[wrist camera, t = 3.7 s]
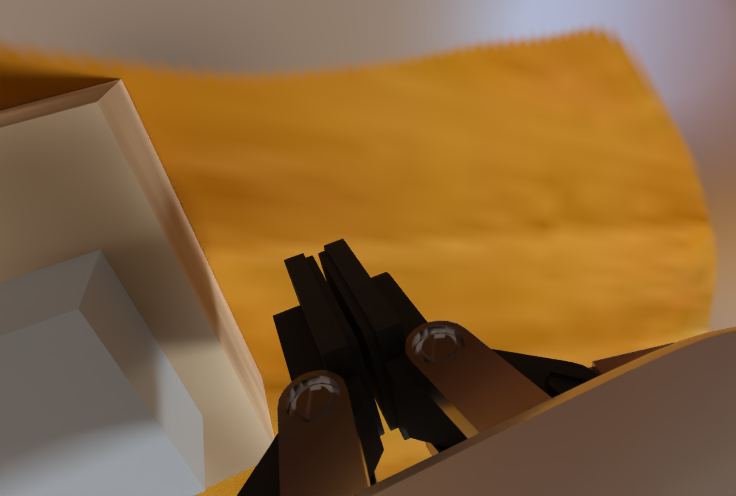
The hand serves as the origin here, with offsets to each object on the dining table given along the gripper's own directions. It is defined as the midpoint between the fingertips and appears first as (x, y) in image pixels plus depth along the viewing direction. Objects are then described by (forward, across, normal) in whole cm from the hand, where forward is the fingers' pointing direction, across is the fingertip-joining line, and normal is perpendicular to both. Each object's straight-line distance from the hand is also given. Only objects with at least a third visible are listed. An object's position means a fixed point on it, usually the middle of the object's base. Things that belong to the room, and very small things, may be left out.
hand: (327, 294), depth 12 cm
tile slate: (+1, +8, 0) cm, 8 cm away
